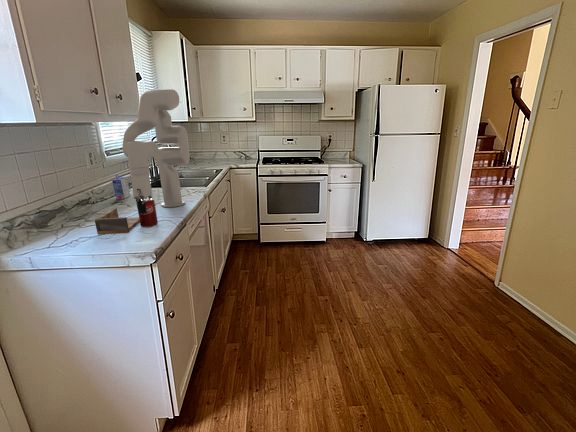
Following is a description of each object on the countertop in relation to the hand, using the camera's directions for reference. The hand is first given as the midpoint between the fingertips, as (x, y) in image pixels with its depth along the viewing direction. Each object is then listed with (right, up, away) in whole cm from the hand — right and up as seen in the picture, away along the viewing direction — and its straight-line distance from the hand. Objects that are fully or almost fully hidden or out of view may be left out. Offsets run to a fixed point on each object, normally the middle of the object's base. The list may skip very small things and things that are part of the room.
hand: (146, 210), depth 135 cm
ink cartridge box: (-42, +9, +58) cm, 72 cm away
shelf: (-12, -7, +2) cm, 14 cm away
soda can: (0, -7, +3) cm, 8 cm away
